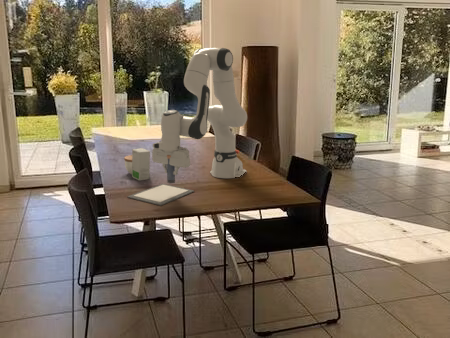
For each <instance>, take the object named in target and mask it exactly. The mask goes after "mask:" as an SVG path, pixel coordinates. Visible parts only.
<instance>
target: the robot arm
mask: <svg viewBox="0 0 450 338" xmlns="http://www.w3.org/2000/svg"><path fill="white" fill-rule="evenodd" d="M233 62H234V55H233V53H232V51H231V50H230V49H228V48H224V47H222V48H221V47H204V48H203V47H201V48H198V49H195V50H194V52H193V53H192V55H191V58H190V60H189V63H188V64H187V67H186V70H185V74H184V78H183V85H184V87H185V89H187V91H189V92H190V93H191V94H193V95H194V96H196V97H197V105H196V106H197V107H196V115H195V116H187V115H183V114H181V113H180V112H179V111H178V110H175V109H170V110H169V109H168V110H165V111H164V112H163V113H162V115H161V119H160V121H161V123H160V124H161V125H160V129H161V131H160V132H161V139H160V141H158V142H157V141H156V142H155V143H152V148H153V149H152V151H151V153H152V154H151V155H152V157H151V159H152V162H153V163H156V164H162V168H163V170H164V174H167V165H168V158H167V155H170V156H171V157H170V160H169V164H170V165H172V166H175V171H173V175H175V176H177V175H179V170H180V168H184V169H186V168H189V167H190V165H191V157H190V150H189V149H188V148H187V147H184V146H181V136H182V137H185V138H186V137H187V138H191V139H195V140H200V139H202V138H203V137H204V136H205V135H206V134H207V132H208V122H209V124H210V125H211V127H212V130H213V132H214V139H215V140H214V143H215V145H214V147H215V148H214V152H213V155H214V156H213V159H212V164H211V170H210V172H209V173H210V174H211V176H212V177H215V178H218V179H236V178H235V177H240V176H241V175H242V176H244V175H245V174H246V173H247V170H246V169H245V168H244V167H243V161H241V159H239V158H238V156H237V155H238V154H240V151H239V150H237V149H236V138H237V137H236V136H235V134H234V133H233V132H232V130H231V128H238V127H239V128H241V127H243V126H245V125H246V123H247V121H248V114H247V111H246V110H245V109H244V108H243V107H242V106H241V104H240V102H239V100H238V98H237V94H236V90H235V80H234V79H235V78H234V72H233V71H234V70H233ZM210 71H212V83H213V85H212V86H213V95H214V97H215V98H216V99H217V100H218V102H220V104H211V105H210V99H211V97H210V96H211V90H210V88H209V86H208V79H209V76H210V75H209V74H210ZM245 172H246V173H245ZM244 173H245V174H244ZM243 174H244V175H243ZM242 176H241V177H242ZM241 177H240V178H241Z"/></svg>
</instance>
